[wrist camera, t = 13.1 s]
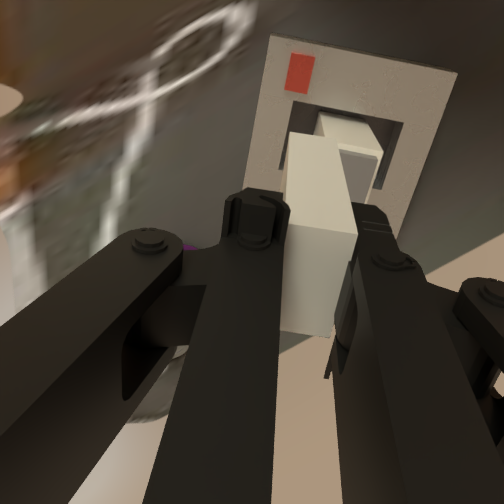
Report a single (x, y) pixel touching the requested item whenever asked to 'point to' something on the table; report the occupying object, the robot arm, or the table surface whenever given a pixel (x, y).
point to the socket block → (349, 112)
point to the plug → (353, 151)
